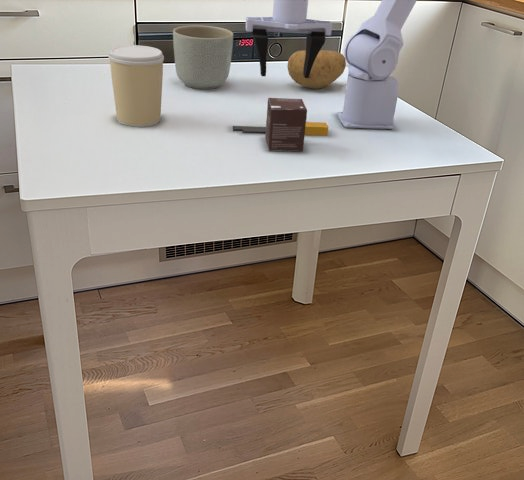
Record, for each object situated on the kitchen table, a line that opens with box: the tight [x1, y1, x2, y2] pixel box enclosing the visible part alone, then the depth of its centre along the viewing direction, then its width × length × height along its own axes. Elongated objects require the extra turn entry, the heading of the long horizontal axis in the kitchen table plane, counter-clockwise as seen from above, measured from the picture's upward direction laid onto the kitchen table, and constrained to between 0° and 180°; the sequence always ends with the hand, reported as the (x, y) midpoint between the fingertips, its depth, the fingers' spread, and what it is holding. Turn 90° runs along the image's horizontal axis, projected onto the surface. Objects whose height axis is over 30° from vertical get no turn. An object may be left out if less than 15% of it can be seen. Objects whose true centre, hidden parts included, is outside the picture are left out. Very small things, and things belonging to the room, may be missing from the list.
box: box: [264, 97, 308, 152], centre depth 108 cm, size 6×6×7 cm
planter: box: [172, 24, 234, 90], centre depth 135 cm, size 12×12×11 cm
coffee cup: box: [108, 44, 165, 128], centre depth 113 cm, size 9×9×12 cm
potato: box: [287, 49, 347, 90], centre depth 140 cm, size 10×14×8 cm
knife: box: [232, 121, 330, 137], centre depth 116 cm, size 17×3×2 cm, turn 96°
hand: (284, 75), depth 113 cm, fingers open, 7 cm apart
